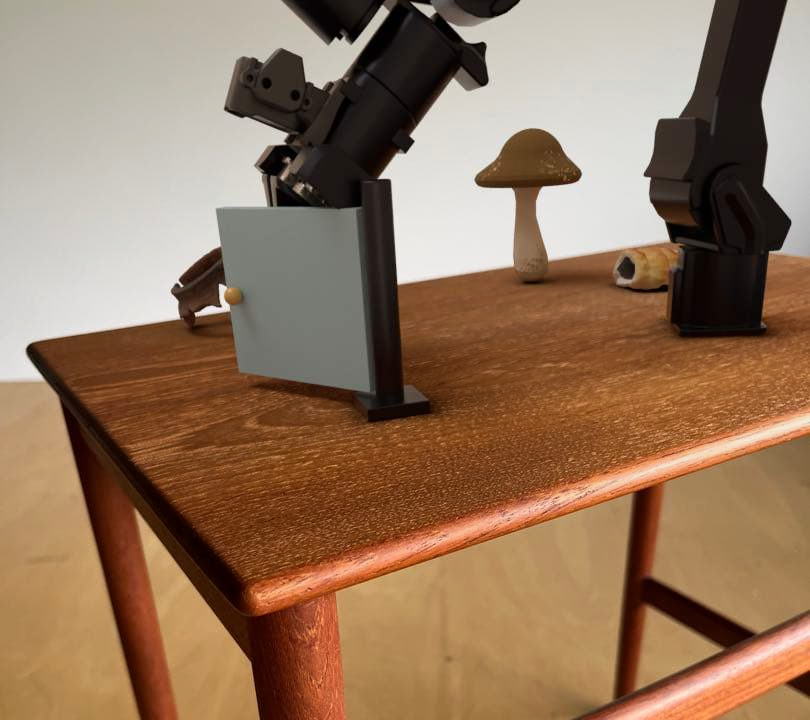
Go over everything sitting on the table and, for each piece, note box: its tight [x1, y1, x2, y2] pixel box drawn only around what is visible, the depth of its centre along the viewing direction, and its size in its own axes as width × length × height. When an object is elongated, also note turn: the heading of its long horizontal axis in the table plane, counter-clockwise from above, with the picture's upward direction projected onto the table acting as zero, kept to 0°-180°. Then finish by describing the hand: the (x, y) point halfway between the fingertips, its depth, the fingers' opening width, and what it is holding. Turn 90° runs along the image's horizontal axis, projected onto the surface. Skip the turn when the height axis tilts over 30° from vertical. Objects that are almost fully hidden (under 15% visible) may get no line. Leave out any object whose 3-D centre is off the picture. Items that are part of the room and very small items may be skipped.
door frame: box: [351, 178, 431, 422], centre depth 53 cm, size 4×4×14 cm
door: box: [215, 206, 375, 393], centre depth 57 cm, size 12×2×11 cm, turn 53°
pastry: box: [612, 245, 678, 291], centre depth 88 cm, size 9×7×4 cm
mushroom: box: [473, 127, 583, 283], centre depth 92 cm, size 9×11×15 cm
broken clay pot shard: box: [170, 245, 227, 328], centre depth 83 cm, size 12×10×8 cm
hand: (244, 288), depth 61 cm, fingers closed
